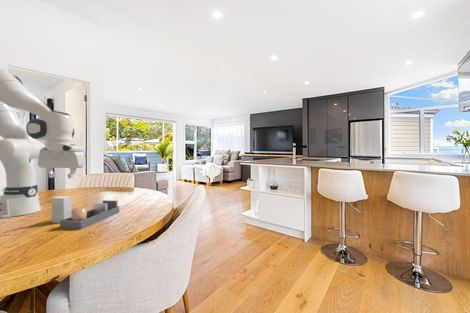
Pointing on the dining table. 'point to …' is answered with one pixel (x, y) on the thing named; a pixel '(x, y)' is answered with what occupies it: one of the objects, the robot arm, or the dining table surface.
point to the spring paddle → (99, 208)
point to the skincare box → (61, 208)
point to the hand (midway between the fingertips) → (61, 177)
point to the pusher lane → (91, 217)
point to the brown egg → (78, 214)
